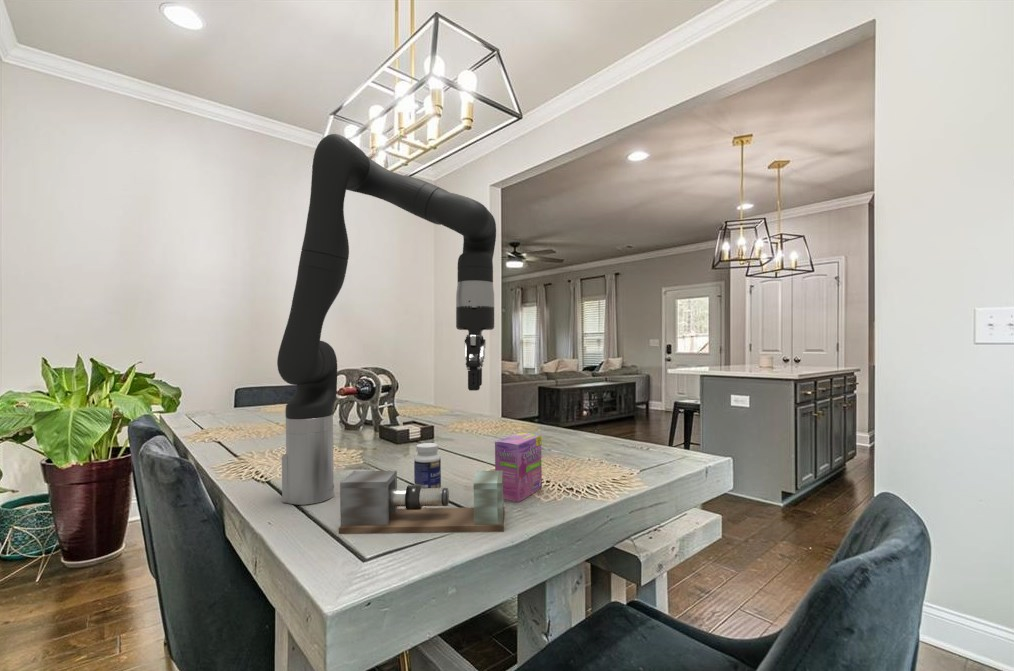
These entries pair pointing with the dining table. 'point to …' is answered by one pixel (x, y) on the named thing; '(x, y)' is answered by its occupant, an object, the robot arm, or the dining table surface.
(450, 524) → the rail base
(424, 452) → the pill bottle
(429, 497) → the tube
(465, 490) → the dining table surface
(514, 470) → the box
